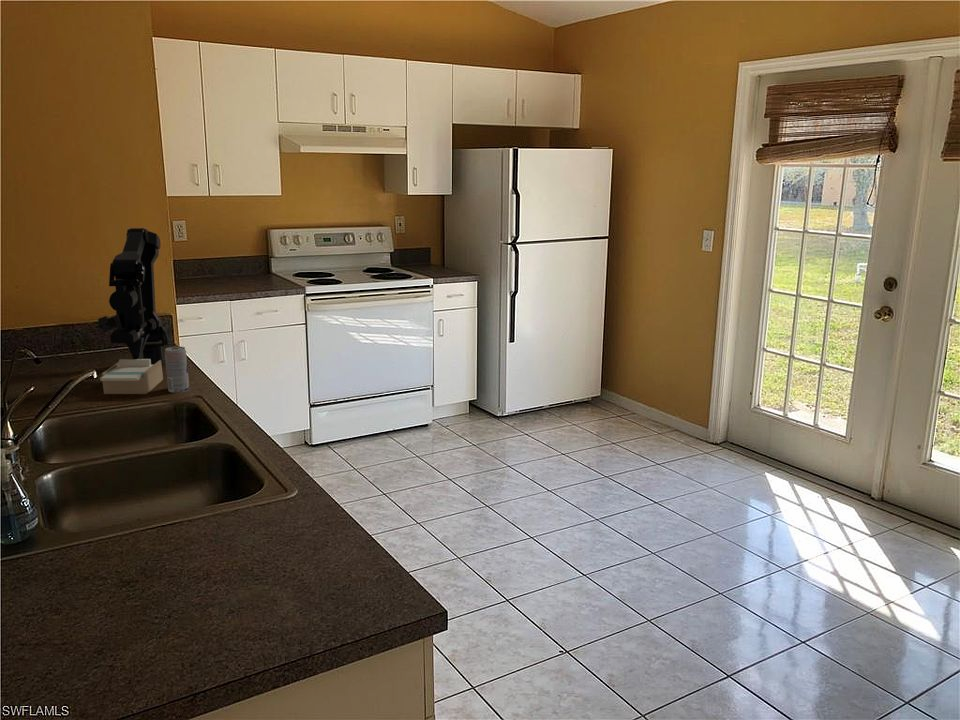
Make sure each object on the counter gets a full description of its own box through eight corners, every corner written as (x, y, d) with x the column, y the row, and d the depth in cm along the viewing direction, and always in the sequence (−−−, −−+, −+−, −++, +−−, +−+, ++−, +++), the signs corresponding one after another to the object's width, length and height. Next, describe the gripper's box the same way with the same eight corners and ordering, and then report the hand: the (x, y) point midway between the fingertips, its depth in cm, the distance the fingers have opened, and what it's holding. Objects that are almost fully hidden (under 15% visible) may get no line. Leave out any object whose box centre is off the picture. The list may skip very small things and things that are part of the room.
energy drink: (188, 387, 213) (184, 345, 209) (190, 393, 208) (187, 350, 205) (167, 390, 210) (163, 347, 207) (169, 395, 206) (165, 352, 202)
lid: (119, 367, 213) (118, 358, 212) (154, 367, 213) (153, 358, 213) (100, 380, 200) (99, 371, 200) (137, 380, 201) (136, 371, 200)
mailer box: (123, 381, 217) (120, 360, 215) (163, 381, 218) (161, 360, 216) (104, 396, 205) (101, 373, 203) (146, 395, 205) (144, 373, 204)
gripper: (113, 298, 217) (119, 352, 221) (85, 311, 199) (92, 370, 203) (154, 298, 218) (159, 352, 222) (129, 312, 200) (135, 370, 204)
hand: (136, 360), depth 213 cm, fingers closed
